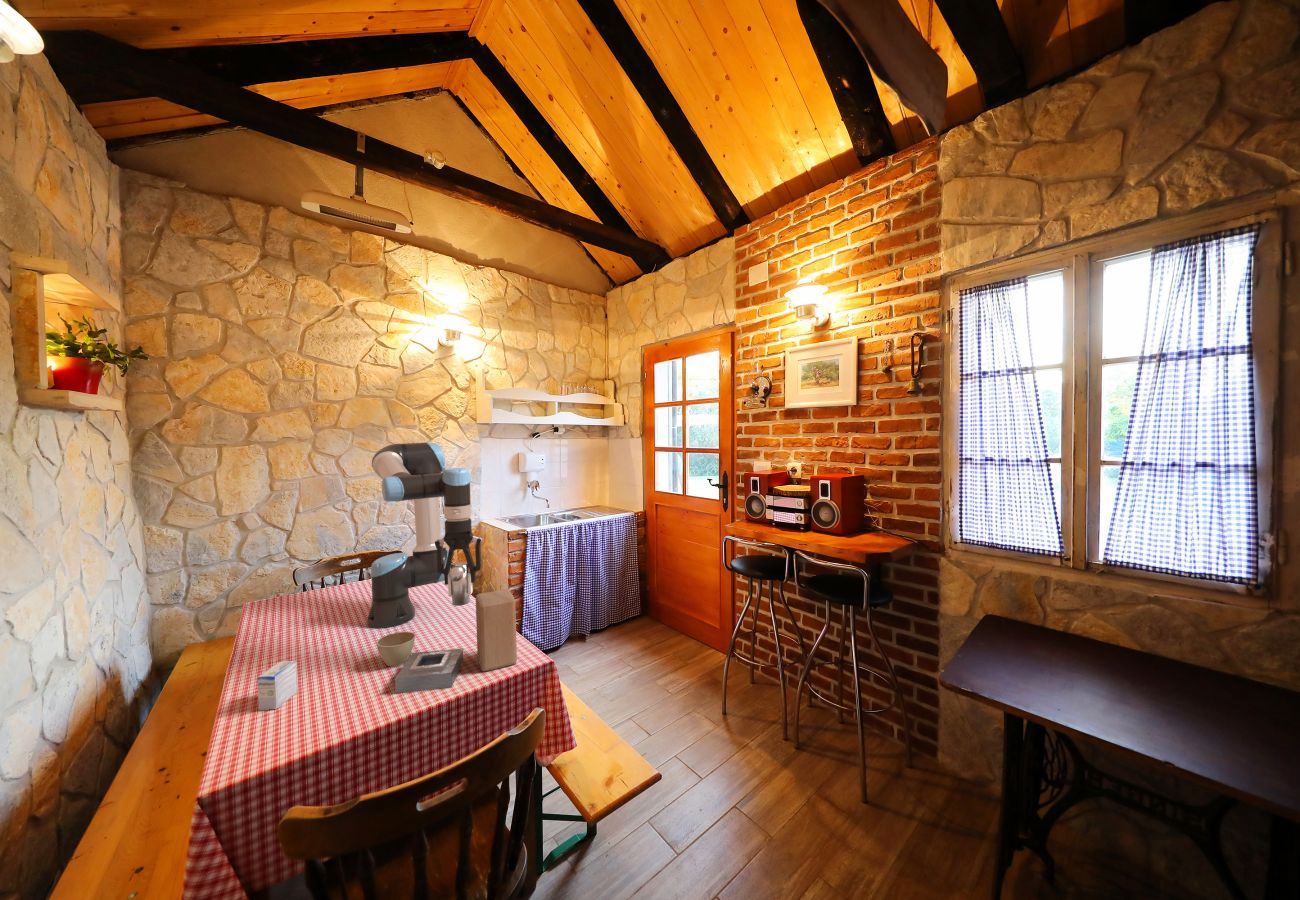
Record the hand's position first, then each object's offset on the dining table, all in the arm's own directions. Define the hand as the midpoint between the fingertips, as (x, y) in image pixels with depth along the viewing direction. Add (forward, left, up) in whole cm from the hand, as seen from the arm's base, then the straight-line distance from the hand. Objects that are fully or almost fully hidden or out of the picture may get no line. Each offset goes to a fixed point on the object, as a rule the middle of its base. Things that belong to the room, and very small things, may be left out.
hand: (460, 593), depth 141 cm
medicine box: (+17, -41, -19) cm, 49 cm away
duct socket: (+12, -6, -19) cm, 23 cm away
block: (+8, +11, -19) cm, 23 cm away
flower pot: (+2, -18, -19) cm, 26 cm away
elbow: (+2, 0, -3) cm, 3 cm away
